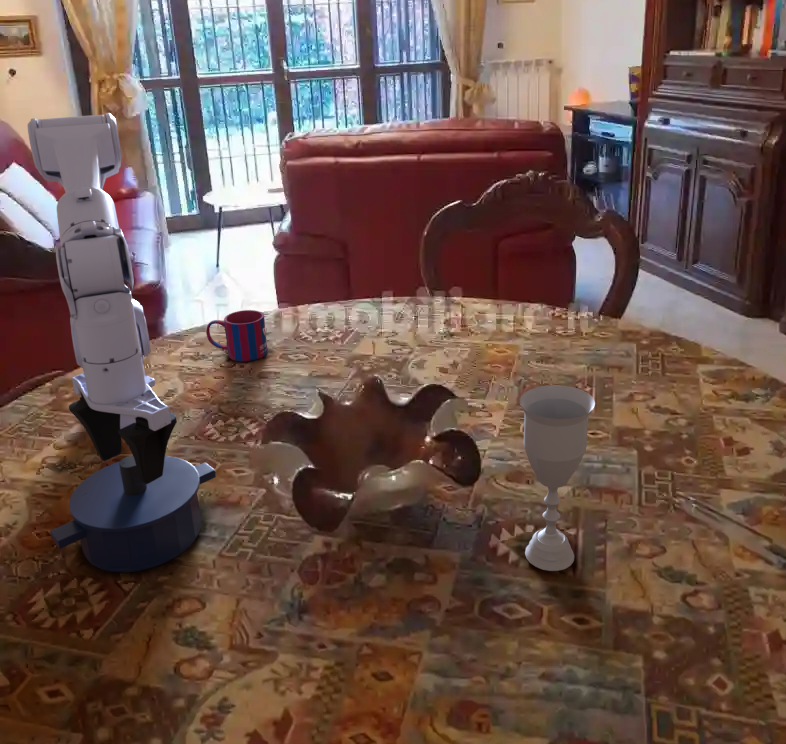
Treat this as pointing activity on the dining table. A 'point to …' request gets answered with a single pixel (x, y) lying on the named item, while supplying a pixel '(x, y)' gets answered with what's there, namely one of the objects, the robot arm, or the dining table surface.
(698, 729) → the dining table surface
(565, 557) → the chalice
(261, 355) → the mug
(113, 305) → the robot arm
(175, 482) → the lid
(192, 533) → the pot
